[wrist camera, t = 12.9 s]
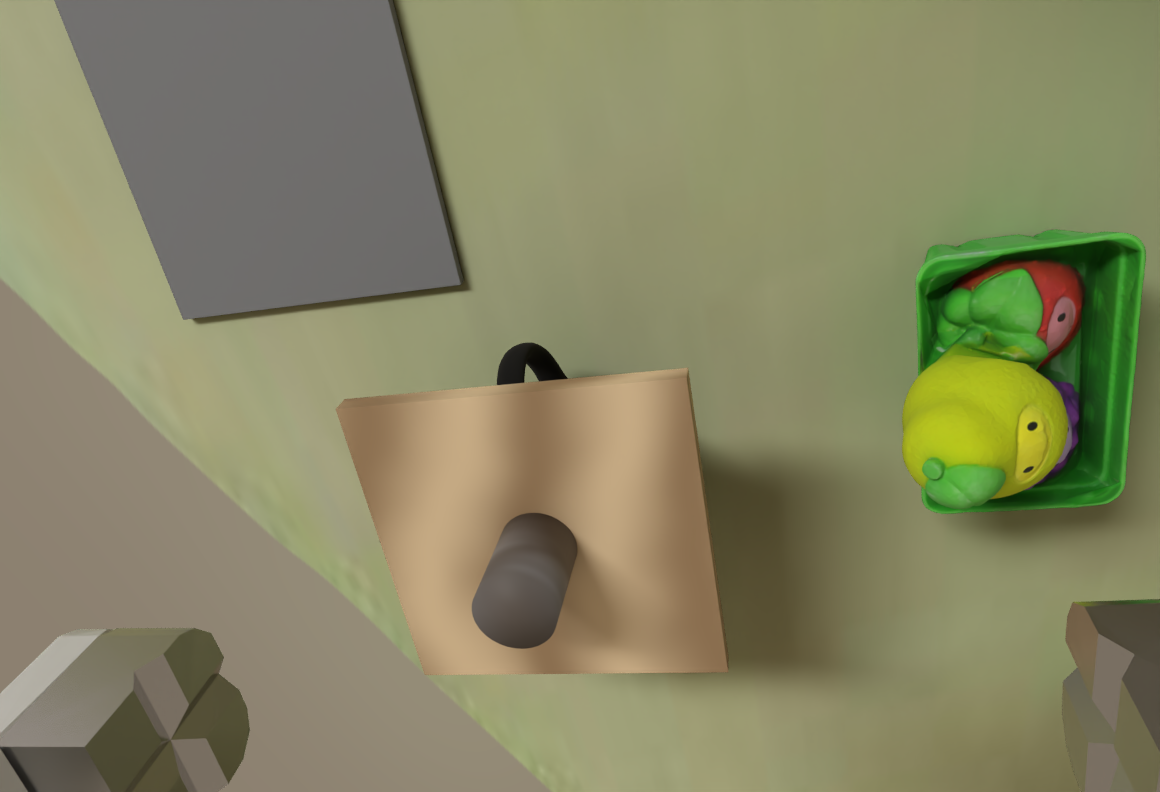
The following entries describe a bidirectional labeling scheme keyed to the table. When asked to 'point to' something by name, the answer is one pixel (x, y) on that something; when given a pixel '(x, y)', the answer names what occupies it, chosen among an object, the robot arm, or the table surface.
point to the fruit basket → (1024, 371)
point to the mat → (269, 147)
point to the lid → (545, 524)
